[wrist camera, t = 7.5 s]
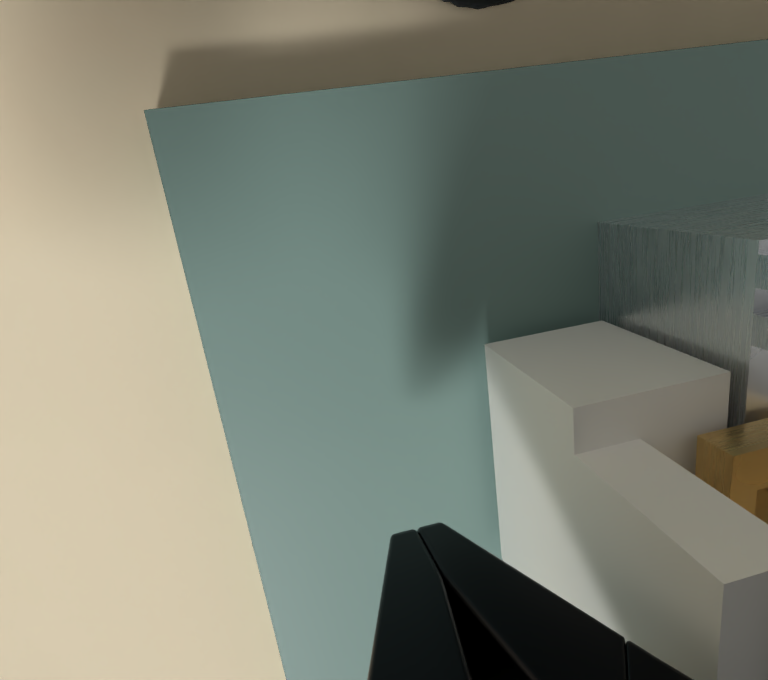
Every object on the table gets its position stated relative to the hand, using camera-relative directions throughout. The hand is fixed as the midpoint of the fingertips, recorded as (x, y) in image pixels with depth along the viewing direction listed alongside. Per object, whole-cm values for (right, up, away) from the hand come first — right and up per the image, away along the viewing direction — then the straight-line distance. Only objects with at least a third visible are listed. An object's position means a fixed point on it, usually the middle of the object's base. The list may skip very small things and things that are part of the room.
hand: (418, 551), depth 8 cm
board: (+8, +3, +5) cm, 10 cm away
